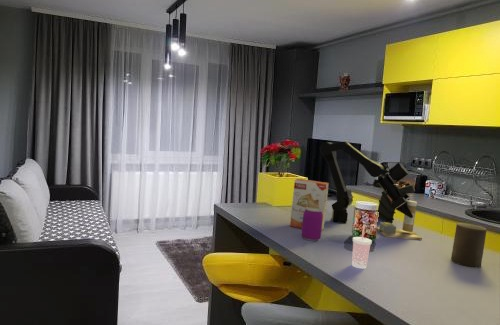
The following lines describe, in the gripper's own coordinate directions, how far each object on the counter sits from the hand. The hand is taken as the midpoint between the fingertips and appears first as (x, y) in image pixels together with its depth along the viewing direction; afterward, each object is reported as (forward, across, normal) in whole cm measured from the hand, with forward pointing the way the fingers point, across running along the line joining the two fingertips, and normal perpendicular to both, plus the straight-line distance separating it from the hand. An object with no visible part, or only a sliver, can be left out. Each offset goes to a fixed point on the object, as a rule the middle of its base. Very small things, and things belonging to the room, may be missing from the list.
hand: (412, 216), depth 175 cm
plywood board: (+3, -2, +10) cm, 10 cm away
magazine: (-3, +23, +16) cm, 28 cm away
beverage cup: (-1, -56, +14) cm, 58 cm away
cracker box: (-22, -23, +35) cm, 47 cm away
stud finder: (0, -4, +13) cm, 13 cm away
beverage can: (-17, -37, +30) cm, 51 cm away
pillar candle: (+21, -25, -9) cm, 34 cm away
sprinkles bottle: (+4, 0, +6) cm, 7 cm away
